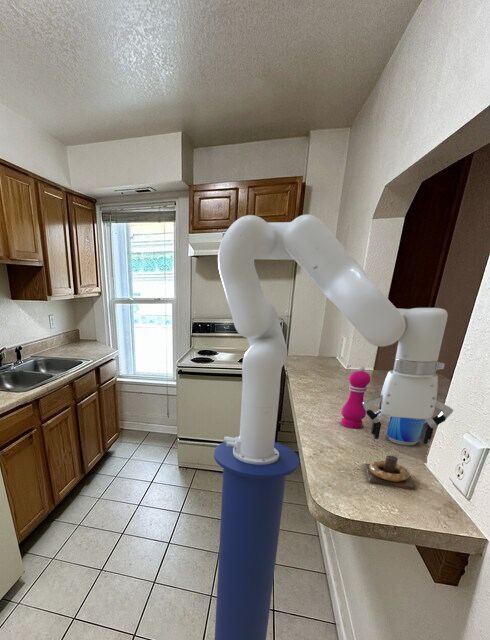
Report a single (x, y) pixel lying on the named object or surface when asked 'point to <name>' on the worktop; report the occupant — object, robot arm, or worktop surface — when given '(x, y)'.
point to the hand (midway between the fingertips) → (398, 439)
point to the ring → (389, 476)
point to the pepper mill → (355, 399)
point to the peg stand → (389, 468)
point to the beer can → (405, 430)
